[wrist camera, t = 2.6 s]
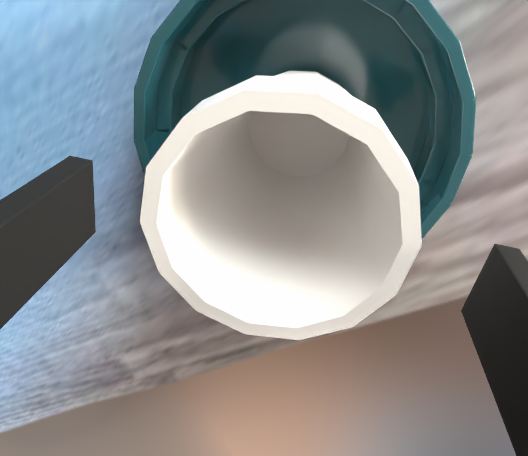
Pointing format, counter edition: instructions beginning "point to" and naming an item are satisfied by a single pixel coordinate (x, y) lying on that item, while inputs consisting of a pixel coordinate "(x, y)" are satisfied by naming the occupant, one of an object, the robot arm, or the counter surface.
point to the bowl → (322, 73)
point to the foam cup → (282, 208)
